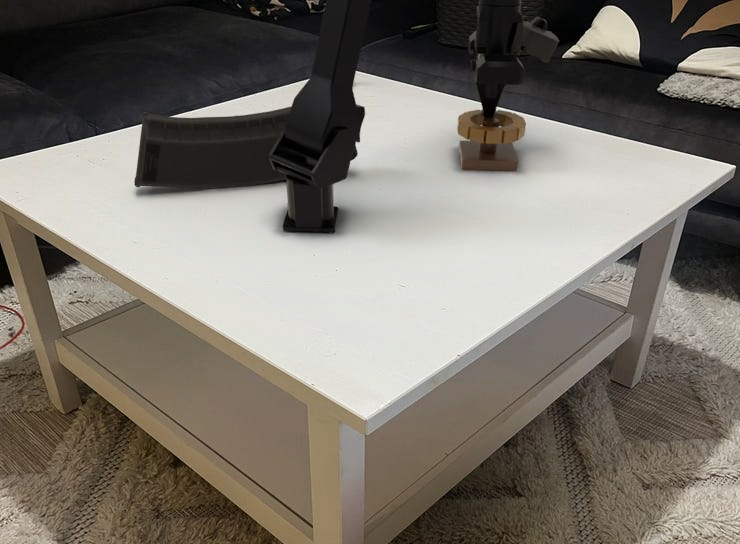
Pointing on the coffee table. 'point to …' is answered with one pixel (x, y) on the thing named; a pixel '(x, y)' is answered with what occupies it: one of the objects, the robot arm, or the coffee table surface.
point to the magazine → (210, 150)
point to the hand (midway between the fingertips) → (488, 116)
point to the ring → (506, 133)
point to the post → (487, 153)
